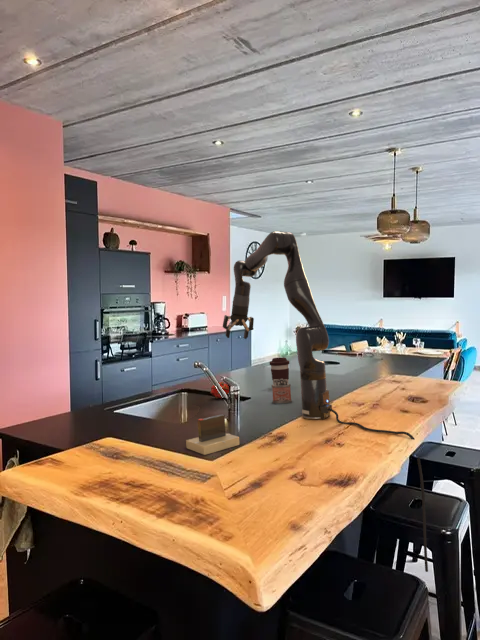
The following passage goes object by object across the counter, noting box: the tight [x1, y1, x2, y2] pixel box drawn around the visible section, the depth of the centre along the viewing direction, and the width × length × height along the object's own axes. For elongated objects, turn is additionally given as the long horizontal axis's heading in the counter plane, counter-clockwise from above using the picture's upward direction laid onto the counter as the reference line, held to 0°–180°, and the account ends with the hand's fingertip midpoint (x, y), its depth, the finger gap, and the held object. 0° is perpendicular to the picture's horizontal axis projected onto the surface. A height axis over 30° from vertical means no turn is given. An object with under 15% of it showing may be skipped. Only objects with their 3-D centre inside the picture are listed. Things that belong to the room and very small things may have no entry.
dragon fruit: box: [209, 381, 230, 400], centre depth 224 cm, size 8×8×12 cm
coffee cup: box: [269, 356, 291, 385], centre depth 241 cm, size 10×10×15 cm
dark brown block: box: [197, 413, 227, 442], centre depth 148 cm, size 9×2×7 cm, turn 128°
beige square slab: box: [185, 432, 240, 456], centre depth 149 cm, size 13×13×3 cm
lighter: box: [271, 379, 292, 404], centre depth 207 cm, size 8×3×10 cm, turn 84°
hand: (236, 338), depth 226 cm, fingers open, 8 cm apart
